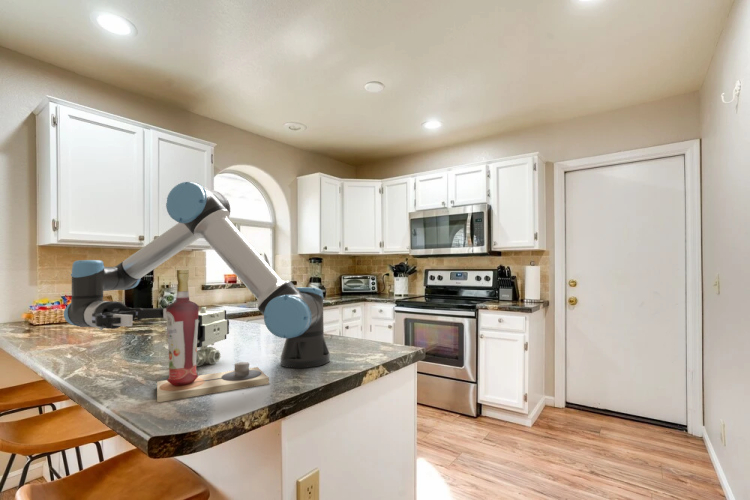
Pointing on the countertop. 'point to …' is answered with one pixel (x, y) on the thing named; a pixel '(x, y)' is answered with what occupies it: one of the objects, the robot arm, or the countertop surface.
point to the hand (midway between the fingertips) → (157, 317)
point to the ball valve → (210, 334)
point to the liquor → (182, 334)
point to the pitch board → (213, 383)
